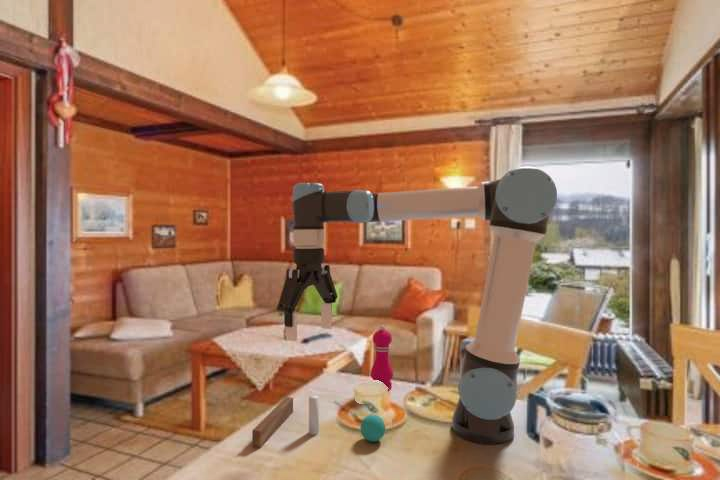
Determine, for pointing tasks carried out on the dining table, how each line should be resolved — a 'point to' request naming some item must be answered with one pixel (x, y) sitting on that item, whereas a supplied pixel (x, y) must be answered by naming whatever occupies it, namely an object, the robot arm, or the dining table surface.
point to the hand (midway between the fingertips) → (310, 334)
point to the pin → (313, 415)
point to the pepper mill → (382, 357)
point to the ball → (372, 428)
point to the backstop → (272, 422)
